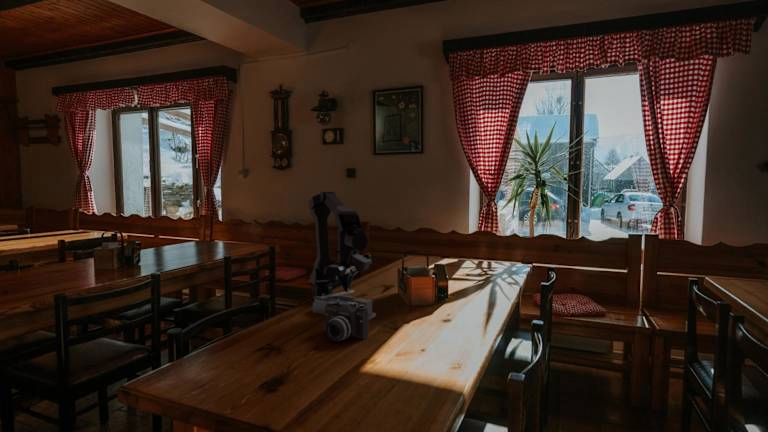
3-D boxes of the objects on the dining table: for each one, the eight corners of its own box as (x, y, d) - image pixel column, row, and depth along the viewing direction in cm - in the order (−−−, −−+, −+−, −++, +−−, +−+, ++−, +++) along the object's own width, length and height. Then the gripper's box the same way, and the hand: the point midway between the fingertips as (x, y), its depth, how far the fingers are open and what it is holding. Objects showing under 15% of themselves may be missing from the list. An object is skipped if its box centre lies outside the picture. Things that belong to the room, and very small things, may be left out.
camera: (310, 338, 132) (310, 305, 131) (331, 328, 141) (331, 296, 140) (351, 348, 125) (352, 312, 124) (371, 336, 134) (371, 303, 134)
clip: (352, 313, 153) (352, 300, 153) (358, 310, 157) (358, 297, 156) (366, 315, 151) (366, 302, 150) (372, 312, 154) (372, 299, 154)
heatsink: (310, 311, 158) (310, 297, 157) (327, 305, 166) (327, 291, 166) (346, 318, 151) (347, 304, 150) (362, 311, 159) (362, 297, 159)
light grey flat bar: (319, 299, 160) (319, 297, 160) (323, 297, 162) (323, 295, 162) (350, 293, 154) (350, 291, 154) (354, 291, 156) (354, 289, 156)
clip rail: (348, 316, 153) (348, 313, 153) (355, 312, 158) (356, 309, 158) (368, 320, 150) (368, 317, 149) (376, 316, 154) (376, 313, 154)
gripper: (352, 252, 143) (352, 300, 144) (380, 245, 159) (380, 288, 160) (323, 249, 148) (323, 296, 149) (353, 243, 164) (353, 285, 166)
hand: (346, 291), depth 156 cm, fingers closed, pressing on light grey flat bar
